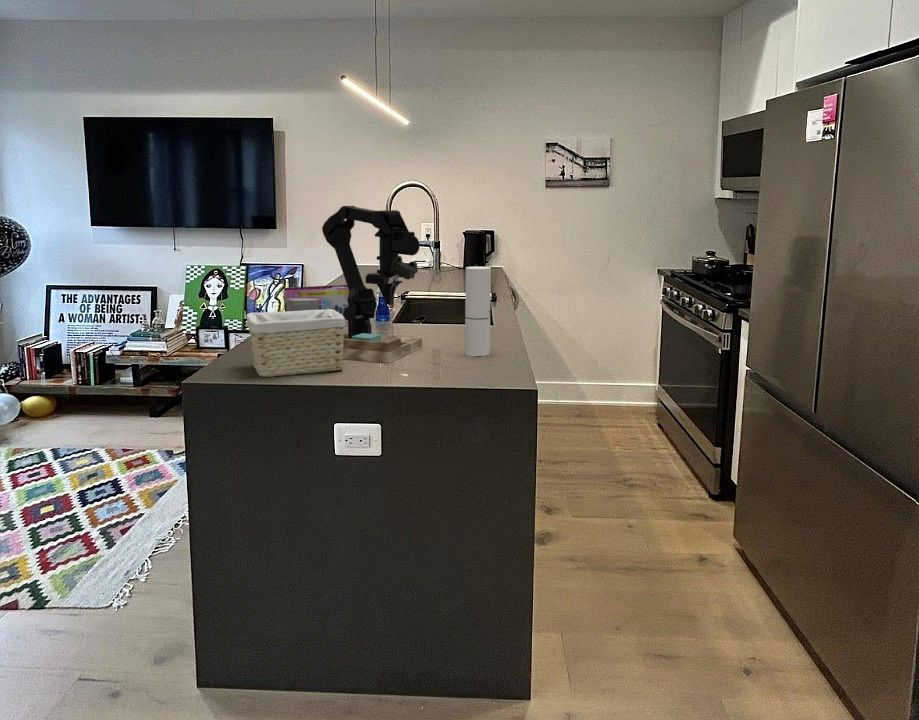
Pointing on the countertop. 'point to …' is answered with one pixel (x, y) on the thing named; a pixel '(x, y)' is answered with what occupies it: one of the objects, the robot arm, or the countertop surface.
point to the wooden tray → (380, 348)
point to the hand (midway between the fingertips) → (388, 304)
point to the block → (367, 337)
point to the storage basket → (296, 341)
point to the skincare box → (302, 304)
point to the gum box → (321, 296)
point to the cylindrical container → (477, 311)
